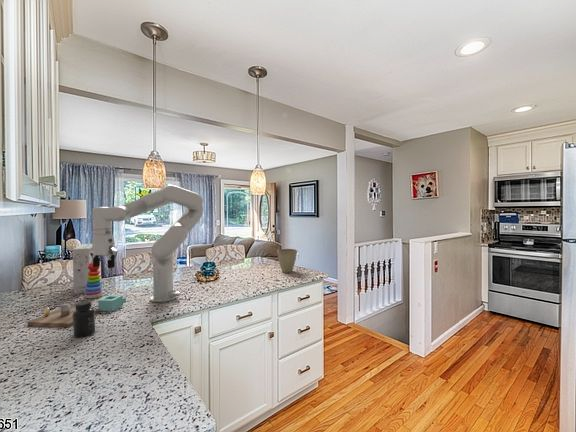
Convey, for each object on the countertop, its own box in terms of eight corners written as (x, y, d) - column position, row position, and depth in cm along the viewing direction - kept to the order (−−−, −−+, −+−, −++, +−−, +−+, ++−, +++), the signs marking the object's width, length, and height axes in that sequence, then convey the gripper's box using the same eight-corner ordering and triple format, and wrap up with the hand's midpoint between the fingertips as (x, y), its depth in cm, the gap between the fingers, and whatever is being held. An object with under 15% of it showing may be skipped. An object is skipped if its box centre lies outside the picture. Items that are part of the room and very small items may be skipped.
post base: (98, 312, 128) (98, 299, 128) (69, 327, 112) (68, 312, 112) (62, 310, 129) (62, 298, 129) (27, 325, 113) (27, 311, 113)
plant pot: (298, 273, 201) (298, 251, 200) (278, 274, 199) (278, 251, 198) (295, 268, 216) (295, 248, 215) (276, 269, 214) (276, 248, 213)
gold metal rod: (50, 315, 120) (49, 307, 120) (47, 316, 119) (46, 308, 119) (47, 315, 120) (46, 307, 120) (44, 316, 119) (43, 308, 119)
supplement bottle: (92, 328, 111) (91, 298, 111) (97, 333, 107) (97, 302, 106) (70, 334, 106) (70, 303, 105) (76, 339, 102) (75, 307, 101)
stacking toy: (93, 299, 145) (92, 264, 144) (80, 298, 146) (79, 263, 146) (106, 294, 152) (105, 261, 152) (94, 294, 154) (93, 260, 153)
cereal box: (90, 292, 158) (88, 248, 157) (73, 293, 154) (72, 249, 153) (97, 282, 177) (96, 243, 176) (82, 283, 174) (81, 244, 173)
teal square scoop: (112, 311, 129) (112, 300, 129) (98, 310, 130) (98, 300, 129) (130, 301, 142) (130, 291, 142) (117, 301, 143) (117, 291, 142)
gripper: (122, 231, 136) (124, 266, 137) (96, 231, 141) (98, 264, 142) (108, 233, 129) (110, 270, 129) (81, 232, 134) (83, 267, 135)
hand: (103, 267), depth 136 cm, fingers open, 9 cm apart
